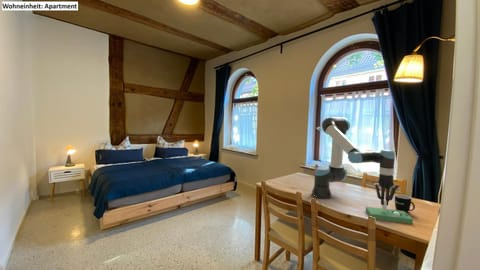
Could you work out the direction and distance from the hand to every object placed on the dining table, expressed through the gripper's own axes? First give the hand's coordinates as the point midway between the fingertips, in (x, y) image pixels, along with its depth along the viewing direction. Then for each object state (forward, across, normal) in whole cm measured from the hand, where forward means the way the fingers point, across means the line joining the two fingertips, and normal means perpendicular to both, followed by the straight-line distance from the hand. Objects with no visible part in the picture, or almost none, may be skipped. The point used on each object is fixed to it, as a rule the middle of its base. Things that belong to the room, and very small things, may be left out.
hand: (384, 209), depth 137 cm
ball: (+2, +7, -1) cm, 7 cm away
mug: (+5, +16, +12) cm, 21 cm away
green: (+4, +2, 0) cm, 5 cm away
